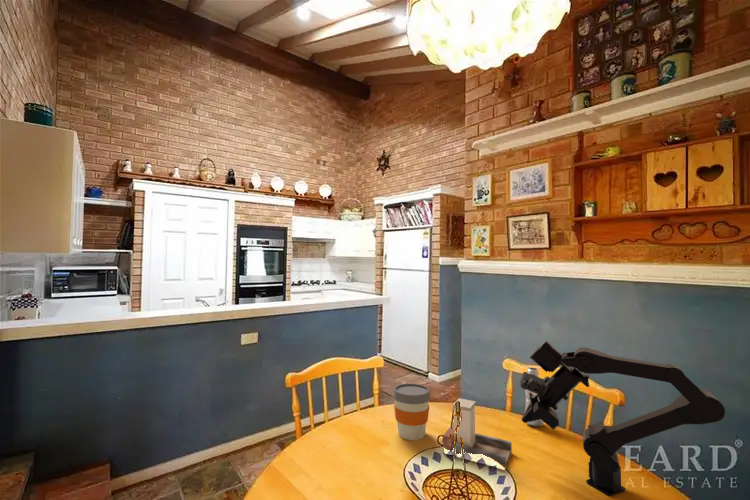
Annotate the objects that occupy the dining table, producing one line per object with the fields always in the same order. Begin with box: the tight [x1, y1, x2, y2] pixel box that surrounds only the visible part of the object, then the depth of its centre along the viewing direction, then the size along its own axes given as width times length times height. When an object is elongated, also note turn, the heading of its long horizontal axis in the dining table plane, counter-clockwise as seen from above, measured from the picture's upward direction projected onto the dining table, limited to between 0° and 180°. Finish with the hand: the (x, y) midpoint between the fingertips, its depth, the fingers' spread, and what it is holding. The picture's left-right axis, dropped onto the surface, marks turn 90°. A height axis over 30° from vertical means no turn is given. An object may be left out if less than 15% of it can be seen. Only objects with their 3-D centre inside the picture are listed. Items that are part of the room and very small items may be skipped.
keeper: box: [452, 397, 477, 447], centre depth 112 cm, size 5×6×13 cm
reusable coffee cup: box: [393, 383, 431, 441], centre depth 123 cm, size 13×13×15 cm
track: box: [442, 422, 513, 468], centre depth 110 cm, size 18×11×6 cm, turn 60°
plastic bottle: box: [524, 367, 544, 427], centre depth 130 cm, size 6×7×20 cm
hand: (522, 421), depth 104 cm, fingers closed
